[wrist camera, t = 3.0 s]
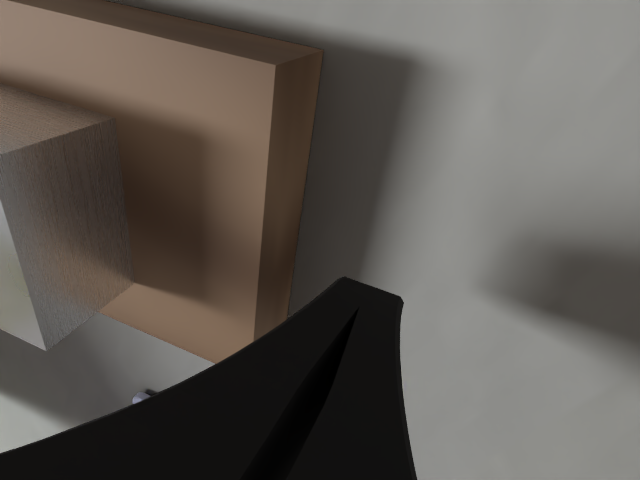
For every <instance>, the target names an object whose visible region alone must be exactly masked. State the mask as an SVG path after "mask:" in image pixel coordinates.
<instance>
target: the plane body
mask: <svg viewBox="0 0 640 480" xmlns="http://www.w3.org/2000/svg"><path fill="white" fill-rule="evenodd" d="M323 51H324V50H321V49H317V48H312V47H308V46H303V45H299V44H295V43H290V42H286V41H281V40H277V39H272V38H268V37H264V36H259V35H255V34H250V33H246V32H242V31H237V30H233V29H228V28H224V27H219V26H215V25H211V24H206V23H202V22H197V21H193V20H189V19H184V18H180V17H175V16H171V15H166V14H162V13H158V12H153V11H149V10H144V9H140V8H136V7H131V6H127V5H122V4H118V3H113V2H109V1H105V0H0V83H2V84H5V85H8V86H12V87H15V88H18V89H22V90H25V91H28V92H31V93H35V94H38V95H41V96H45V97H48V98H51V99H54V100H58V101H61V102H64V103H68V104H71V105H74V106H77V107H81V108H84V109H87V110H91V111H94V112H97V113H100V114H104V115H107V116H110V117H114V118H115V124H116V132H117V140H118V148H119V156H120V164H121V172H122V181H123V189H124V197H125V205H126V213H127V221H128V230H129V238H130V246H131V254H132V262H133V270H134V279H135V283H134V284H133V285H132V286H130V287H129V288H128V289H127V290H125V291H124V292H123V293H121V294H120V295H119V296H117V297H116V298H115V299H114V300H112V301H111V302H110V303H108V304H107V305H106V306H105V307H103V308H102V309H101V310H99V311H98V312H100V313H102V314H104V315H106V316H109V317H111V318H113V319H116V320H118V321H120V322H122V323H125V324H127V325H129V326H131V327H134V328H136V329H138V330H140V331H143V332H145V333H147V334H150V335H152V336H154V337H156V338H159V339H161V340H163V341H165V342H168V343H170V344H172V345H175V346H177V347H179V348H181V349H184V350H186V351H188V352H190V353H193V354H195V355H197V356H200V357H202V358H204V359H206V360H209V361H211V362H213V363H215V364H217V363H219V362H220V361H222V360H224V359H226V358H227V357H229V356H231V355H233V354H234V353H236V352H238V351H239V350H241V349H242V348H244V347H246V346H247V345H249V344H250V343H252V342H254V341H255V340H257V339H258V338H260V337H262V336H263V335H265V334H266V333H268V332H269V331H271V330H272V329H274V328H275V327H277V326H278V325H280V324H281V323H282V322H284V321H285V320H287V314H288V307H289V299H290V292H291V285H292V277H293V270H294V263H295V256H296V248H297V241H298V234H299V226H300V219H301V212H302V204H303V197H304V190H305V182H306V175H307V168H308V161H309V153H310V146H311V139H312V131H313V124H314V117H315V109H316V102H317V95H318V87H319V80H320V73H321V65H322V58H323Z"/></svg>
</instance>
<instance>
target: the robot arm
mask: <svg viewBox="0 0 640 480" xmlns="http://www.w3.org/2000/svg"><path fill="white" fill-rule="evenodd" d="M403 304H404V302H403V300H402V299H401V297H400V296H397V295H395V294H392V293H389V292H386V291H383V290H381V289H378V288H375V287H372V286H369V285H367V284H364V283H361V282H358V281H355V280H353V279H350V278H347V277H342V278H339V279H337V280H336V281H335V282H334V283H333V284H332V285H331V286H330V287H328V288H327V289H326V290H325V291H324V292H322V293H321V294H320V295H319V296H318V297H316V298H315V299H314V300H312V301H311V302H310V303H309V304H307V305H306V306H305V307H303V308H302V309H301V310H299V311H298V312H297V313H295V314H294V315H292V316H291V317H289V318H288V319H287V320H285V321H284V322H282V323H281V324H280V325H278V326H277V327H275V328H274V329H272V330H271V331H269V332H268V333H266V334H265V335H263V336H262V337H260V338H258V339H257V340H255V341H254V342H252V343H250V344H249V345H247V346H246V347H244V348H242V349H241V350H239V351H238V352H236V353H234V354H233V355H231V356H229V357H227V358H226V359H224V360H222V361H220V362H219V363H217V364H215V365H213V366H211V367H209V368H208V369H206V370H204V371H202V372H200V373H198V374H196V375H194V376H192V377H190V378H188V379H186V380H184V381H182V382H180V383H178V384H176V385H174V386H172V387H170V388H167V389H165V390H163V391H161V392H159V393H157V394H154V395H152V396H150V395H148V394H146V393H143V392H139V393H137V394H136V395H135V396H134V398H133V400H132V402H133V404H132V405H130V406H128V407H125V408H123V409H121V410H118V411H116V412H113V413H111V414H108V415H105V416H103V417H100V418H98V419H95V420H92V421H90V422H87V423H84V424H82V425H79V426H77V427H74V428H71V429H69V430H66V431H63V432H61V433H58V434H55V435H53V436H50V437H48V438H45V439H42V440H39V441H36V442H33V443H31V444H28V445H25V446H22V447H19V448H16V449H12V450H9V451H6V452H3V453H0V480H417V477H416V472H415V467H414V462H413V457H412V452H411V446H410V440H409V434H408V428H407V421H406V414H405V407H404V398H403V389H402V376H401V363H400V322H401V314H402V308H403Z"/></svg>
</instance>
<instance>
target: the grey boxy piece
mask: <svg viewBox="0 0 640 480" xmlns="http://www.w3.org/2000/svg"><path fill="white" fill-rule="evenodd" d="M134 283H135V279H134V270H133V262H132V254H131V246H130V238H129V230H128V221H127V213H126V205H125V197H124V189H123V181H122V172H121V164H120V156H119V148H118V140H117V132H116V124H115V118H114V117H110V116H107V115H104V114H100V113H97V112H94V111H91V110H87V109H84V108H81V107H77V106H74V105H71V104H68V103H64V102H61V101H58V100H54V99H51V98H48V97H45V96H41V95H38V94H35V93H31V92H28V91H25V90H22V89H18V88H15V87H12V86H8V85H5V84H2V83H0V329H1V330H3V331H5V332H7V333H9V334H12V335H14V336H16V337H18V338H20V339H22V340H24V341H26V342H28V343H30V344H32V345H34V346H36V347H38V348H40V349H42V350H45V351H48V350H49V349H50V348H52V347H53V346H54V345H55V344H57V343H58V342H59V341H61V340H62V339H63V338H64V337H66V336H67V335H68V334H70V333H71V332H72V331H74V330H75V329H76V328H77V327H79V326H80V325H81V324H83V323H84V322H85V321H86V320H88V319H89V318H90V317H92V316H93V315H94V314H96V313H97V312H98V311H99V310H101V309H102V308H103V307H105V306H106V305H107V304H108V303H110V302H111V301H112V300H114V299H115V298H116V297H117V296H119V295H120V294H121V293H123V292H124V291H125V290H127V289H128V288H129V287H130V286H132V285H133V284H134Z"/></svg>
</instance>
